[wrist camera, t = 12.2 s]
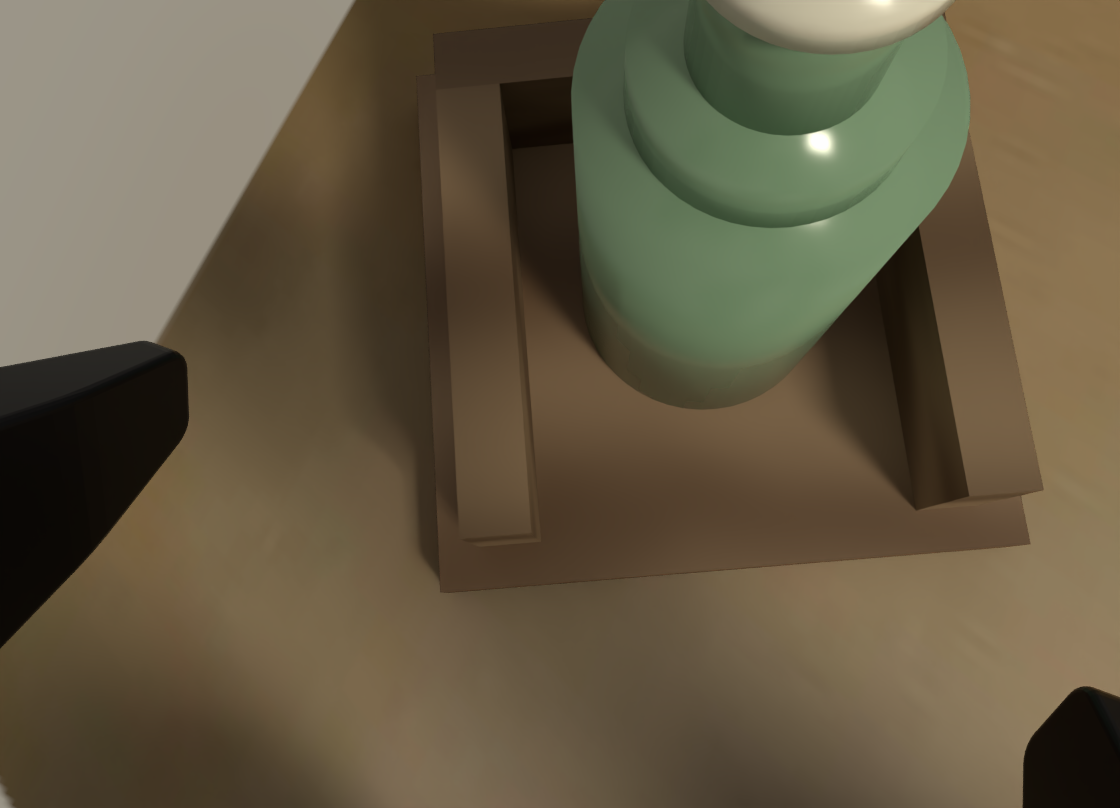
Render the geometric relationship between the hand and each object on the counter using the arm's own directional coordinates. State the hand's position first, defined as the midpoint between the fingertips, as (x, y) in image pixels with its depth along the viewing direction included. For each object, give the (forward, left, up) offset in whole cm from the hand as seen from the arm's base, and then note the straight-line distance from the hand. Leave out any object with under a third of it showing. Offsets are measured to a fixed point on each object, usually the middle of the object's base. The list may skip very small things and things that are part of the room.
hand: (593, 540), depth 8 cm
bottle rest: (+7, -3, -14) cm, 16 cm away
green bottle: (+7, -3, -12) cm, 14 cm away
